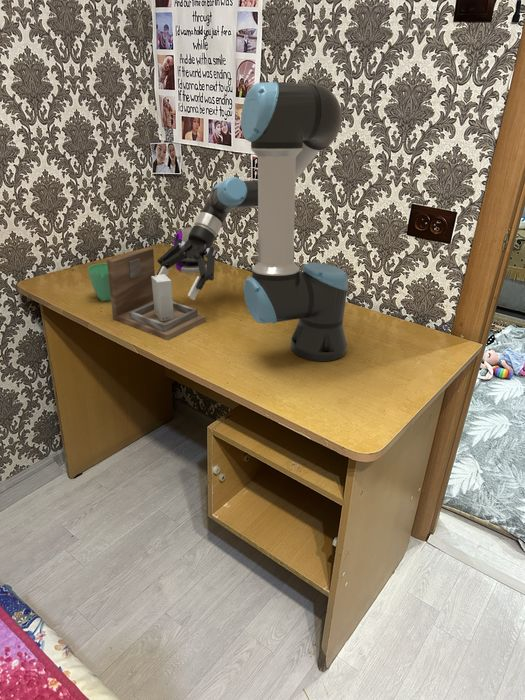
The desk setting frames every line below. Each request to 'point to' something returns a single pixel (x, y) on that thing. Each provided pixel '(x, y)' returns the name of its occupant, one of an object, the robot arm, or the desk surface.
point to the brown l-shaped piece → (144, 297)
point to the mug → (100, 280)
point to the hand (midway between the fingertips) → (172, 292)
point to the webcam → (185, 264)
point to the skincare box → (162, 297)
